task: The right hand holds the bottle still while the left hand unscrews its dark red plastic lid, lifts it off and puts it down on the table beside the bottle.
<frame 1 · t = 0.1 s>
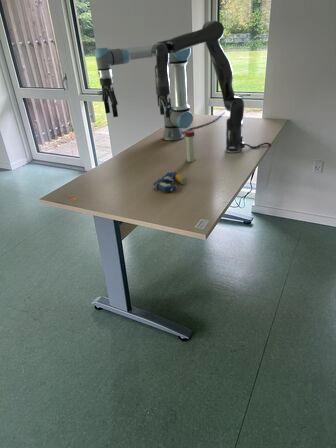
left hand: (111, 114, 206), 28 cm above the table, tool pointing down, fingers open, 13 cm apart
right hand: (165, 116, 187), 29 cm above the table, tool pointing down, fingers open, 8 cm apart
lid: (189, 132, 198), point 18 cm above the table, screwed on, not yet turned
spray gun: (171, 184, 178), on the table
bottle: (190, 160, 207), on the table
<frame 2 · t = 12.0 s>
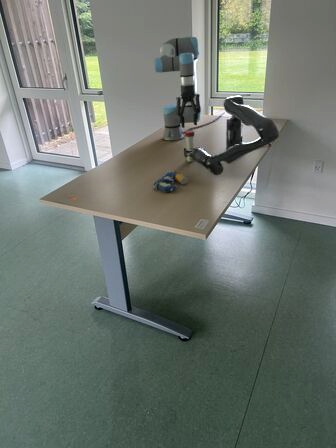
left hand: (189, 126, 196), 21 cm above the table, tool pointing down, fingers open, 7 cm apart
right hand: (188, 148, 205), 7 cm above the table, tool horizontal, fingers closed on bottle, 4 cm apart
bottle: (190, 160, 207), on the table, touching right hand
everything else where it was.
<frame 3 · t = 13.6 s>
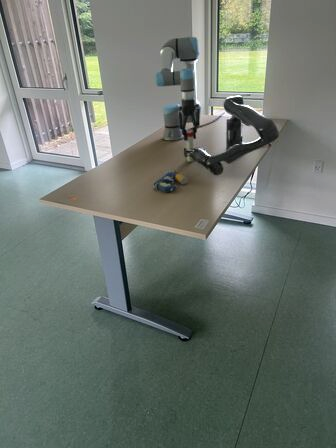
left hand: (189, 139, 200), 13 cm above the table, tool pointing down, fingers closed on lid, 5 cm apart
right hand: (188, 148, 205), 7 cm above the table, tool horizontal, fingers closed on bottle, 4 cm apart
lid: (189, 132, 198), point 18 cm above the table, screwed on, not yet turned, touching left hand
bottle: (190, 160, 207), on the table, touching right hand
everything else where it was.
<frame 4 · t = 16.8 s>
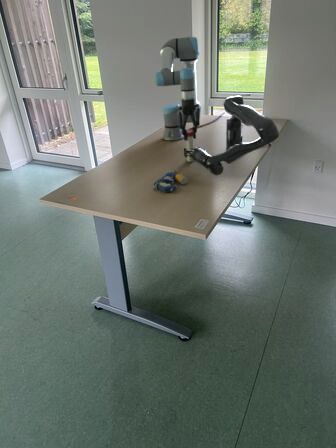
left hand: (189, 139, 200), 13 cm above the table, tool pointing down, fingers closed on lid, 5 cm apart
right hand: (188, 148, 205), 7 cm above the table, tool horizontal, fingers closed on bottle, 4 cm apart
lid: (189, 131, 198), point 18 cm above the table, turned 94° so far, risen 0.1 cm, still on its thread, touching left hand
bottle: (190, 160, 207), on the table, touching right hand
everything else where it was.
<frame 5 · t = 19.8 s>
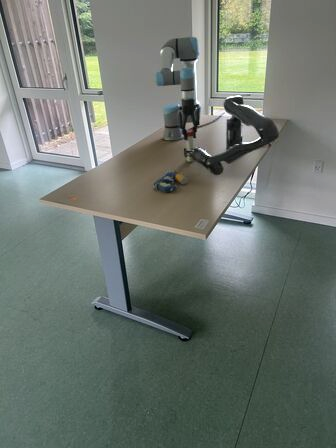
left hand: (189, 138, 200), 14 cm above the table, tool pointing down, fingers closed on lid, 5 cm apart
right hand: (188, 148, 205), 7 cm above the table, tool horizontal, fingers closed on bottle, 4 cm apart
lid: (189, 131, 197), point 18 cm above the table, turned 187° so far, risen 0.3 cm, still on its thread, touching left hand
bottle: (190, 160, 207), on the table, touching right hand
everything else where it was.
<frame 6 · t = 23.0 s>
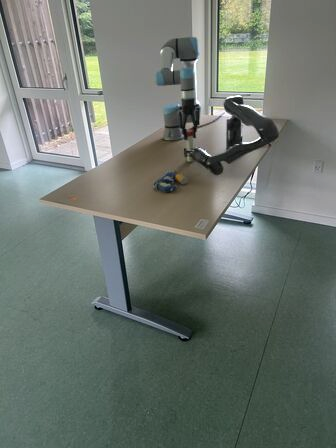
left hand: (189, 138, 200), 14 cm above the table, tool pointing down, fingers closed on lid, 5 cm apart
right hand: (188, 148, 205), 7 cm above the table, tool horizontal, fingers closed on bottle, 4 cm apart
lid: (189, 131, 197), point 18 cm above the table, turned 281° so far, risen 0.4 cm, still on its thread, touching left hand
bottle: (190, 160, 207), on the table, touching right hand
everything else where it was.
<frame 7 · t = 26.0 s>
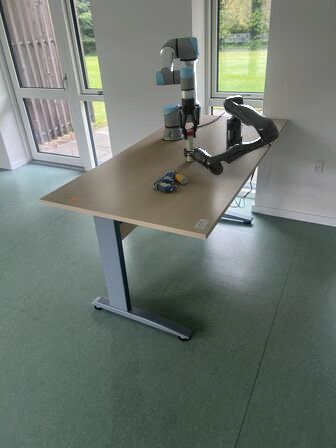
left hand: (189, 138, 200), 14 cm above the table, tool pointing down, fingers closed on lid, 5 cm apart
right hand: (188, 148, 205), 7 cm above the table, tool horizontal, fingers closed on bottle, 4 cm apart
lid: (189, 131, 197), point 18 cm above the table, turned 375° so far, risen 0.5 cm, still on its thread, touching left hand
bottle: (190, 160, 207), on the table, touching right hand
everything else where it was.
when the left hand's fingers open (0 cm above the table, at t = 35.4 s): lid drops 2 cm, point 2 cm above the table.
when the right hand's fingers open (7 cm above the table, at t = 36.0 s): bottle stays where it is, on the table.
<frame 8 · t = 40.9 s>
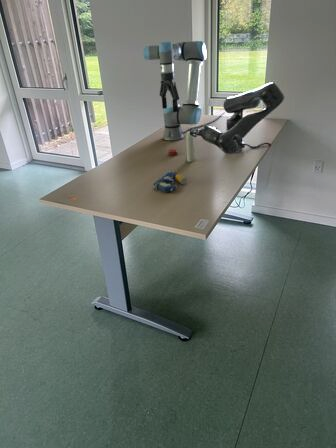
left hand: (170, 110, 204), 28 cm above the table, tool pointing down, fingers open, 13 cm apart
right hand: (197, 128, 186), 22 cm above the table, tool horizontal, fingers open, 8 cm apart
lid: (172, 151, 217), point 2 cm above the table, off its thread
bottle: (190, 160, 207), on the table
everything else where it was.
at the end: lid came off its thread; lid point 2.1 cm above the table; the left hand is holding nothing; the right hand is holding nothing; bottle tilted 0°; bottle moved 0.0 cm from its start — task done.
